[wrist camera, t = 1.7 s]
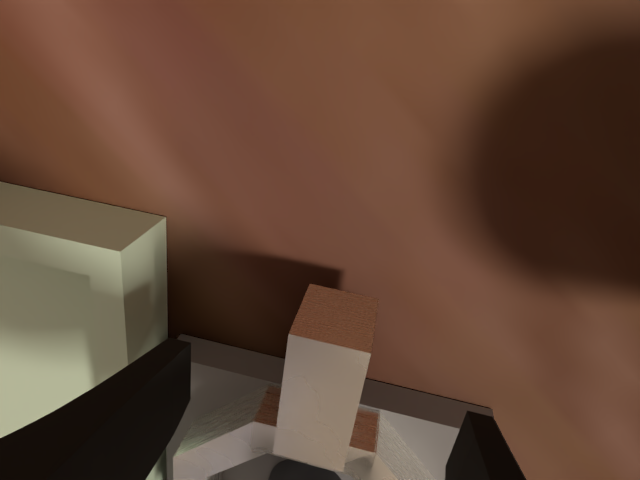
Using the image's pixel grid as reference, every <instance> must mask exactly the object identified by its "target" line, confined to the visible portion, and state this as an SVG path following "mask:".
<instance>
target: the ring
mask: <svg viewBox="0 0 640 480" xmlns="http://www.w3.org/2000/svg"><path fill="white" fill-rule="evenodd" d="M378 301H379V299H377V298H373V297H368V296H364V295H359V294H355V293H350V292H346V291H341V290H337V289H332V288H328V287H323V286H319V285H314V284H309V286H308V289H307V291H306V293H305V296H304V298H303V301H302V303H301V305H300V308H299V310H298V313H297V315H296V317H295V320H294V322H293V325H292V327H291V329H290V332H289V334H288V342H287V349H286V357H285V365H284V372H283V380H282V387H280V386H276V385H272V384H268V385H266V386H264V387H262V388H260V389H258V390H256V391H254V392H251V393H249V394H247V395H245V396H243V397H241V398H239V399H237V400H235V401H233V402H231V403H229V404H227V405H225V406H222V407H220V408H218V409H216V410H214V411H212V412H210V413H208V414H206V415H204V416H202V417H200V418H198V419H196V420H194V421H193V423H192V424H191V426H190V428H189V430H188V431H187V433H186V435H185V437H184V438H183V440H182V442H181V444H180V445H179V447H178V449H177V451H176V453H175V454H174V456H173V480H223V471H224V470H226V469H229V468H231V467H234V466H236V465H239V464H241V463H244V462H246V461H249V460H251V459H254V458H256V457H259V456H261V455H264V454H266V453H268V454H271V455H275V456H279V457H283V458H286V459H290V460H294V461H298V462H301V463H305V464H309V465H312V466H316V467H320V468H324V469H327V470H331V471H335V472H339V473H342V474H346V475H350V476H352V477H353V478H354V479H355V480H436V479H435V478H434V477H433V476H432V475H431V473H430V472H429V471H428V470H427V468H426V467H425V466H424V465H423V464H422V462H421V461H420V460H419V459H418V458H417V456H416V455H415V454H414V453H413V451H412V450H411V449H410V448H409V447H408V445H407V444H406V443H405V442H404V440H403V439H402V438H401V437H400V436H399V434H398V433H397V432H396V431H395V430H394V428H393V427H392V426H391V425H390V423H389V422H388V421H387V420H386V419H385V417H384V416H383V415H382V414H381V412H380V411H376V410H372V409H368V408H364V407H360V406H359V402H360V398H361V394H362V389H363V385H364V381H365V377H366V373H367V369H368V364H369V360H370V356H371V351H372V344H373V337H374V330H375V322H376V315H377V308H378Z"/></svg>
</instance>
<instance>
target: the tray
mask: <svg viewBox="0 0 640 480" xmlns="http://www.w3.org/2000/svg"><path fill="white" fill-rule="evenodd" d="M166 339H168V310H167V244H166V217H164V216H159V215H155V214H150V213H145V212H140V211H136V210H131V209H126V208H122V207H117V206H112V205H108V204H103V203H98V202H94V201H89V200H84V199H80V198H75V197H70V196H66V195H61V194H56V193H51V192H47V191H42V190H37V189H33V188H28V187H23V186H19V185H14V184H9V183H5V182H0V438H2V437H4V436H6V435H8V434H10V433H12V432H14V431H16V430H18V429H20V428H22V427H24V426H26V425H28V424H30V423H32V422H34V421H36V420H38V419H40V418H42V417H44V416H45V415H47V414H49V413H51V412H53V411H55V410H56V409H58V408H60V407H62V406H63V405H65V404H67V403H68V402H70V401H72V400H73V399H75V398H77V397H79V396H80V395H82V394H84V393H85V392H87V391H89V390H90V389H92V388H94V387H95V386H97V385H98V384H100V383H101V382H103V381H105V380H106V379H108V378H109V377H111V376H112V375H114V374H115V373H117V372H118V371H120V370H122V369H123V368H125V367H126V366H128V365H129V364H131V363H132V362H134V361H135V360H136V359H138V358H139V357H141V356H142V355H144V354H145V353H147V352H148V351H150V350H151V349H153V348H154V347H156V346H157V345H159V344H160V343H162V342H163V341H165V340H166ZM146 480H167V460H166V448H165V450H164V451H163V453H162V455H161V456H160V458H159V459H158V461H157V462H156V464H155V466H154V467H153V469H152V470H151V472H150V474H149V475H148V477H147V478H146Z"/></svg>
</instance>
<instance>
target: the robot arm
mask: <svg viewBox="0 0 640 480" xmlns="http://www.w3.org/2000/svg"><path fill="white" fill-rule="evenodd" d="M190 400H191V343H190V342H186V341H182V340H178V339H174V338H168V339H166V340H165V341H163V342H162V343H160V344H159V345H157V346H156V347H154V348H153V349H151V350H150V351H148V352H147V353H145V354H144V355H142V356H141V357H139V358H138V359H136V360H135V361H134V362H132V363H131V364H129V365H128V366H126V367H125V368H123V369H122V370H120V371H118V372H117V373H115V374H114V375H112V376H111V377H109V378H108V379H106V380H105V381H103V382H101V383H100V384H98V385H97V386H95V387H94V388H92V389H90V390H89V391H87V392H85V393H84V394H82V395H80V396H79V397H77V398H75V399H73V400H72V401H70V402H68V403H67V404H65V405H63V406H62V407H60V408H58V409H56V410H55V411H53V412H51V413H49V414H47V415H45V416H44V417H42V418H40V419H38V420H36V421H34V422H32V423H30V424H28V425H26V426H24V427H22V428H20V429H18V430H16V431H14V432H12V433H10V434H8V435H6V436H4V437H2V438H0V480H146V478H147V477H148V475H149V474H150V472H151V470H152V469H153V467H154V466H155V464H156V462H157V461H158V459H159V458H160V456H161V455H162V453H163V451H164V450H165V448H166V447H167V445H168V443H169V442H170V440H171V438H172V437H173V435H174V433H175V431H176V429H177V427H178V425H179V423H180V421H181V419H182V417H183V415H184V412H185V410H186V408H187V406H188V404H189V402H190ZM445 480H526V478H525V476H524V474H523V473H522V471H521V469H520V467H519V465H518V463H517V461H516V460H515V458H514V456H513V454H512V452H511V450H510V448H509V446H508V445H507V443H506V441H505V439H504V437H503V435H502V433H501V431H500V429H499V427H498V425H497V423H496V421H495V420H494V418H493V417H492V416H488V415H484V414H480V413H476V412H471V411H467V412H466V415H465V417H464V420H463V422H462V425H461V428H460V430H459V433H458V435H457V438H456V440H455V443H454V446H453V448H452V451H451V453H450V456H449V458H448V461H447V464H446V468H445Z"/></svg>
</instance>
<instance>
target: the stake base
mask: <svg viewBox="0 0 640 480" xmlns="http://www.w3.org/2000/svg"><path fill="white" fill-rule="evenodd" d="M177 339H178V340H182V341H186V342H190V343H191V400H190V402H189V404H188V406H187V408H186V410H185V412H184V415H183V417H182V419H181V421H180V423H179V425H178V427H177V429H176V431H175V433H174V435H173V437H172V438H171V440H170V442H169V443H168V445H167V447H166V460H167V480H173V456H174V454H175V453H176V451H177V449H178V447H179V445H180V444H181V442H182V440H183V438H184V437H185V435H186V433H187V431H188V430H189V428H190V426H191V424H192V423H193V421H194V420H196V419H198V418H200V417H202V416H204V415H206V414H208V413H210V412H212V411H214V410H216V409H218V408H220V407H222V406H225V405H227V404H229V403H231V402H233V401H235V400H237V399H239V398H241V397H243V396H245V395H247V394H249V393H251V392H254V391H256V390H258V389H260V388H262V387H264V386H266V385H268V384H272V385H276V386H280V387H282V380H283V372H284V365H285V359H283V358H279V357H275V356H271V355H266V354H262V353H258V352H254V351H250V350H246V349H242V348H238V347H233V346H229V345H225V344H221V343H217V342H213V341H209V340H205V339H201V338H196V337H192V336H188V335H184V334H180V336H179V337H178V338H177ZM359 406H360V407H364V408H368V409H372V410H376V411H380V412H381V414H382V415H383V416H384V417H385V419H386V420H387V421H388V422H389V423H390V425H391V426H392V427H393V428H394V430H395V431H396V432H397V433H398V434H399V436H400V437H401V438H402V439H403V440H404V442H405V443H406V444H407V445H408V447H409V448H410V449H411V450H412V451H413V453H414V454H415V455H416V456H417V458H418V459H419V460H420V461H421V462H422V464H423V465H424V466H425V467H426V468H427V470H428V471H429V472H430V473H431V475H432V476H433V477H434V478H435V479H436V480H445V468H446V464H447V461H448V458H449V456H450V453H451V451H452V448H453V446H454V443H455V440H456V438H457V435H458V433H459V430H460V428H461V425H462V422H463V420H464V417H465V415H466V412H467V411H471V412H476V413H480V414H484V415H488V416H492V417H493V418H494V416H493V411H492V409H489V408H485V407H481V406H476V405H472V404H468V403H464V402H460V401H456V400H452V399H448V398H443V397H439V396H435V395H431V394H427V393H423V392H419V391H415V390H411V389H406V388H402V387H398V386H394V385H390V384H386V383H382V382H378V381H373V380H369V379H365V381H364V385H363V389H362V394H361V398H360V402H359ZM223 480H355V479H354V478H353V477H352V476H350V475H346V474H342V473H339V472H335V471H331V470H327V469H324V468H320V467H316V466H312V465H309V464H305V463H301V462H298V461H294V460H290V459H286V458H283V457H279V456H275V455H271V454H268V453H266V454H264V455H261V456H259V457H256V458H254V459H251V460H249V461H246V462H244V463H241V464H239V465H236V466H234V467H231V468H229V469H226V470H224V471H223Z"/></svg>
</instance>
